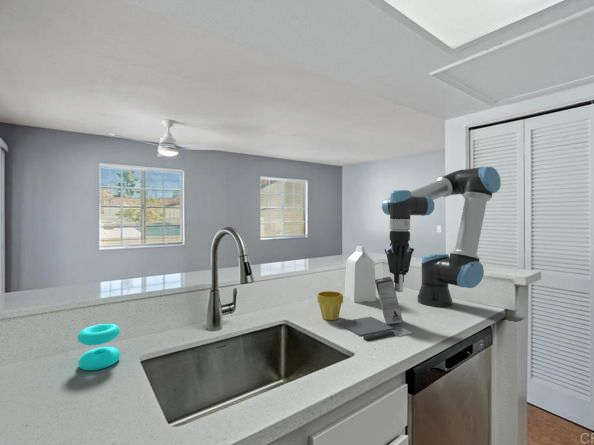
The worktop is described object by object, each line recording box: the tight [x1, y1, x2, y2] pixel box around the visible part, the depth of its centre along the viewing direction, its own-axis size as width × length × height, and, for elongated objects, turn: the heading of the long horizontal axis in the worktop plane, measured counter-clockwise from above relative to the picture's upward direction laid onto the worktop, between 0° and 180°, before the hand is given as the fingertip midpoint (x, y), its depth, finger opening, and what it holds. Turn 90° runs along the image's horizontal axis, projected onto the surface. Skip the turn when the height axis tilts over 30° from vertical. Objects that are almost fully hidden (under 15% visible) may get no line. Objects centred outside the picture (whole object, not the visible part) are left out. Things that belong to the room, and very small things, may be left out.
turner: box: [363, 327, 414, 342], centre depth 109 cm, size 19×5×1 cm, turn 116°
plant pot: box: [316, 290, 344, 321], centre depth 128 cm, size 10×10×10 cm
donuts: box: [77, 323, 121, 371], centre depth 88 cm, size 10×10×10 cm
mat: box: [336, 316, 396, 337], centre depth 118 cm, size 16×14×1 cm
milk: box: [343, 245, 377, 303], centre depth 157 cm, size 12×12×26 cm
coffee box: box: [375, 276, 404, 325], centre depth 123 cm, size 9×6×16 cm
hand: (398, 291), depth 122 cm, fingers closed
